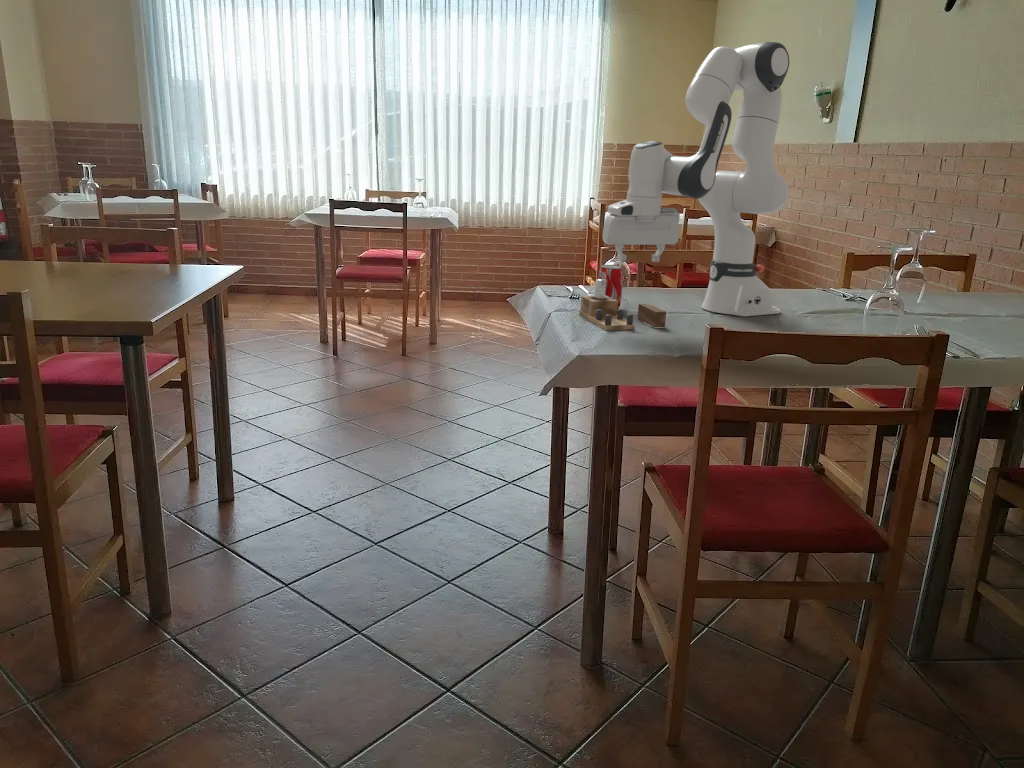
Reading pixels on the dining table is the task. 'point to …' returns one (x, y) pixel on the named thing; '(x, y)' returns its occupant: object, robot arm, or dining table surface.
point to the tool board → (613, 322)
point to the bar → (651, 315)
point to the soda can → (612, 281)
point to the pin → (600, 289)
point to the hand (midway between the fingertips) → (638, 261)
